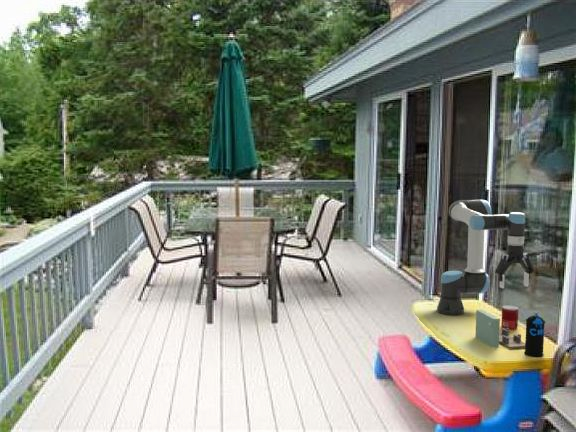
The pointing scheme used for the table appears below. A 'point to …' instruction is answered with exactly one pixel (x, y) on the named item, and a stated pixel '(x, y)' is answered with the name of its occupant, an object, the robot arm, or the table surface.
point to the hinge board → (510, 340)
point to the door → (487, 328)
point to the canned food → (509, 317)
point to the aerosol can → (534, 336)
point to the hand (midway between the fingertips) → (514, 287)
